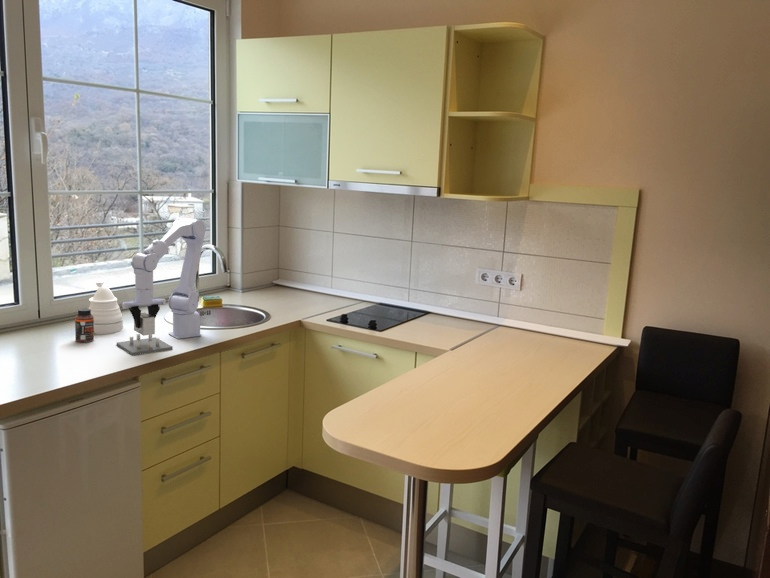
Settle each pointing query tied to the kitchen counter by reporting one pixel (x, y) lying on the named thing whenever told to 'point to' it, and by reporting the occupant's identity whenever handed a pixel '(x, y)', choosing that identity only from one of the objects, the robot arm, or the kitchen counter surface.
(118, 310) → the honey pot
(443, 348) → the kitchen counter surface
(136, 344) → the pin tray
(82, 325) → the supplement bottle
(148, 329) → the block
